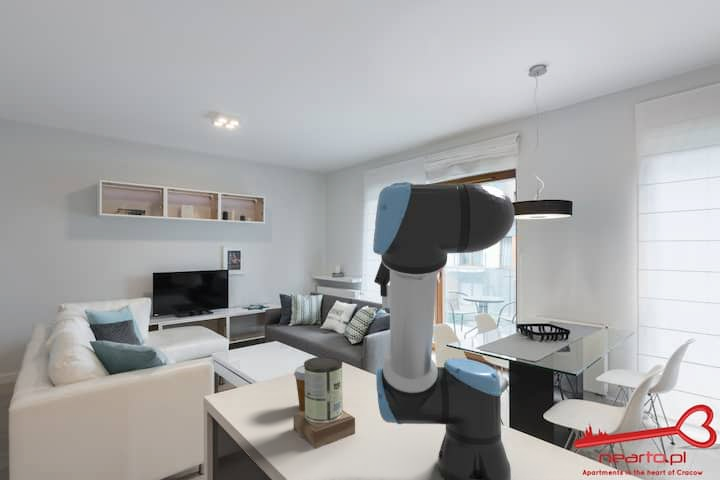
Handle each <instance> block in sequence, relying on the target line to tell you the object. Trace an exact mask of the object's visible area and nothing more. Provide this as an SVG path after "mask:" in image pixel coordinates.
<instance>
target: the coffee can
mask: <svg viewBox="0 0 720 480" xmlns="http://www.w3.org/2000/svg"><path fill="white" fill-rule="evenodd" d="M303 365H304V367H305V418H306V419H307V420H308V421H310V422H313V423H331V422H334V421H336V420H338V419H340V418H341V417H342V415H343V411H344V410H343V360H342V359H341V358H339V357H336V356H317V357H316V356H315V357H312V358H309V359H307V360H305V361H304V363H303ZM342 410H343V411H342Z"/></svg>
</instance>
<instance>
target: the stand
mask: <svg viewBox="0 0 720 480" xmlns="http://www.w3.org/2000/svg"><path fill="white" fill-rule="evenodd" d="M342 411H343V415H342V417H341V418H340V419H338V420H336V421H334V422H331V423H313V422H310V421H308V420H307V419H306V418H305V411H300V412H297V413H294V414H292V415H293V430H294V431H295V432H297V434H298V435H300V437H302V438H303V439H304V440H306V442H307V443H308V444H310V445H311V446H312V447H313V448H314V449H318V448H321V447H323V446H326V445H329V444H331V443H333V442H337V441H338V440H341V439H344V438H347V437H349V436H352V435H354V434H356V417H355V416H352V415H351V414H349V413H348V412H347V411H345V410H343V409H342Z"/></svg>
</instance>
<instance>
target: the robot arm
mask: <svg viewBox="0 0 720 480" xmlns="http://www.w3.org/2000/svg"><path fill="white" fill-rule="evenodd" d="M375 213H376V214H375V222H374V226H375V227H374V232H373V234H374V235H373V246H372V249H373V252H374V253H375V254H377V255H378V256H380V257H381V261H380V264H379V266H378V269H377V273H376V275H375V278H374V283H375V284H378V285H379V286H380V287H379V288H380V292H379V293H380V294H379V295H380V297H381V308H383V309H389V355H388V356H387V357H386V359H385V360H384V361H383V365H381V366H379V367H377V369H376V376H375V377H376V380H375V381H376V382H375V383H376V393H377V404H378V409H379V413H380V416H381V419H382V420H383V421H384V422H386V423H391V424H398V425H403V424H404V425H405V424H406V425H408V424H409V425H410V424H411V425H414V424H416V425H445V433H444V436H443V439H442V442H441V445H440V448H439V452H438V455H437V463H438V464H437V466H438V467H437V468H438V471H439V473H440V476H442V477H443V479H444V480H512V474H511V471H512V470H511V468H512V467H511V463H510V461H509V459H508V457H507V452H506V450H505V449H506V448H505V447H504V443H503V440H502V420H501V419H502V418H501V417H502V416H501V415H502V412H501V411H502V410H501V402H502V401H501V400H502V399H501V398H502V397H501V396H502V391H501V383H500V382H501V381H500V376H499V374H498V372H497V371H496V370H495V369H494V368H493V367H491V366H490V365H488V364H485V363H484V362H483V363H482V362H480V361H477V360H473V359H468V358H461V357H459V358H458V357H452V358H447V359H446V360H445V362H444V363H443V366H437V364H436V362H435V361H434V360H433V359H432V356H433V354H432V352H433V340H434V339H433V337H434V323H435V310H436V296H437V294H436V293H437V292H436V291H437V280H438V279H437V278H438V273H439V272H440V271H441V270H443V269H444V268H445V267H446V265H447V262H448V254H468V253H469V254H471V253H475V252H482V251H484V250H487V249H489V248H491V247H493V246H495V245H496V244H498V243H499V242H500V241H502V240H503V239H504V238H506V236H507V235H508V234H509V232H510V230H511V229H512V228H513V224H514V221H515V215H516V214H515V213H516V212H515V207H514V205H513V202H512V200H511V198H510V197H509V195H508V194H507V193H505V192H504V191H503V190H501V189H499V188H497V187H494V186H490V185H486V184H481V183H470V182H467V183H465V182H464V183H463V182H457V183H434V184H433V183H429V184H428V183H427V184H426V183H422V184H419V183H418V184H417V183H415V184H413V183H411V182H408V181H404V182H403V181H402V182H396V183H391V185H388V186H384V187H383V188H382V189H381V191H379V195H378V200H377V205H376V211H375Z"/></svg>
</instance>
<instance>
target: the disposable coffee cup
mask: <svg viewBox="0 0 720 480" xmlns="http://www.w3.org/2000/svg"><path fill="white" fill-rule="evenodd" d="M293 375H294V378H295V381H296V389H297V397H298V398H297V399H298V406H299V407H298V408H299V410H300V412H303V411H305V367H304V364H302V365H299V366H297V367H296V368H295V371H294V373H293Z"/></svg>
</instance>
